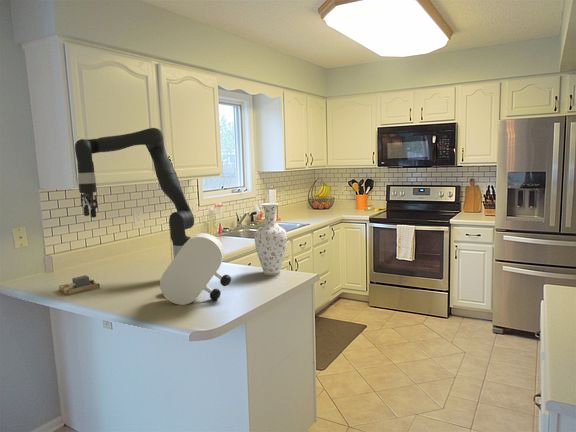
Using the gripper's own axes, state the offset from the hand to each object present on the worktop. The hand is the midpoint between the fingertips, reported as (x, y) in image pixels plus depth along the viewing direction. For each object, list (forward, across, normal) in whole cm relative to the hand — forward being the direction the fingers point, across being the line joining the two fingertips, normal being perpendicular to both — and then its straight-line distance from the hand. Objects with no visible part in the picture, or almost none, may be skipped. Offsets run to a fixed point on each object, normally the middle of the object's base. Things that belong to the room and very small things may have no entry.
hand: (90, 216), depth 210 cm
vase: (+32, -53, -67) cm, 91 cm away
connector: (+31, -7, +9) cm, 33 cm away
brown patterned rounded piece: (+32, -46, -16) cm, 58 cm away
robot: (+32, -62, -18) cm, 72 cm away
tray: (+32, -7, +10) cm, 34 cm away
